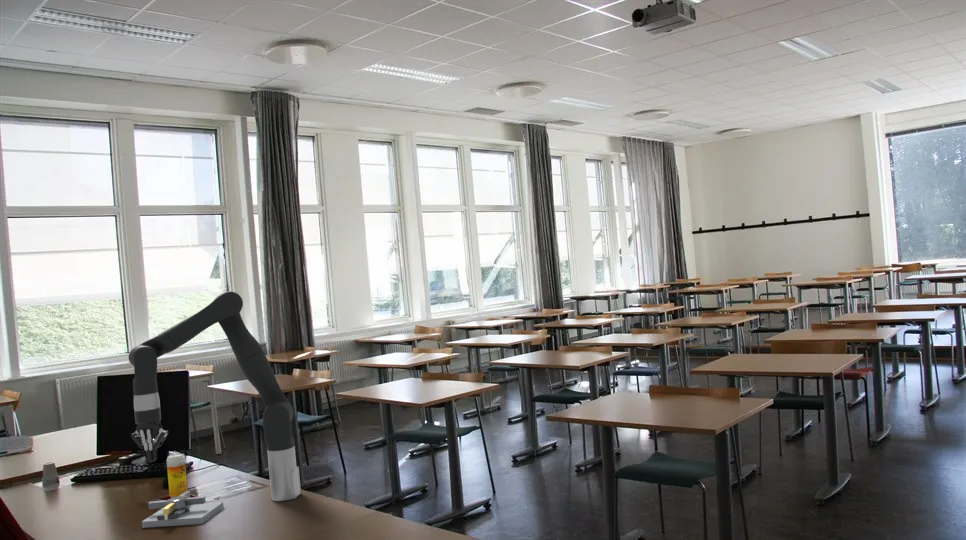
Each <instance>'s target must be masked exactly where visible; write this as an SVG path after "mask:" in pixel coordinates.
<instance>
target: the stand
mask: <svg viewBox="0 0 966 540" xmlns="http://www.w3.org/2000/svg"><path fill="white" fill-rule="evenodd" d="M224 508H225V507H224V501H215V502H214V501H213V502H205V503H204V504H197V505H189V511H187V512H185V513H184V514H182V515H179V516H178V513H170V514H169V515H163V509H164V508H160V509H159V510H157V512H155V513H153V514H152V515H150V516H148V517H147V518H145V519H144V520H142V521H141V526H142V528H143V529H144V528H145V529H146V528H157V527H158V528H160V527H174V526H175V527H176V526H187V525H189V526H191V525H202V524H204V523H206V522H207V521H208V520H209V519H211V518H212V517H213V516H215V515H216V514H218V513H219V512H220V511H221V510H222V509H224Z"/></svg>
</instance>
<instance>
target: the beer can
mask: <svg viewBox="0 0 966 540" xmlns="http://www.w3.org/2000/svg"><path fill="white" fill-rule="evenodd" d="M185 459H186V458H185V456H184V453H175V454H172V455H168V456H167V458H166V469H167V480H168V482H167V483H168V493H169V497H170V499H171V498H175V497H179V496H180V495H181V494H183V493H184V492H186V491H188V480H187V468H186V460H185Z"/></svg>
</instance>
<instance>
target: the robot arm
mask: <svg viewBox="0 0 966 540" xmlns="http://www.w3.org/2000/svg"><path fill="white" fill-rule="evenodd" d="M243 306H244V301H243V298H242V296H241V295H240V294H238V293H237V292H235V291H232V290H231V291H229V290H228V291H224V292H222V293H220V294H218V295H217V296H216V297H215V298H214V300H212V301H211V302H210V303H209V304H208V305H207V306H205V307H204V308H201V310H199V311H198V312H196V313H194V314H192V315H191V316H188V317H187V318H185V319H184V320H181V321H180V322H178V323H176V324H174V325H172V326H170V327H169V328H167V329H166V330H164V331H161V333H159V334H158V335H156V336H154V337H152V338H150V339H148V340H146V341H144V342H142V343H139V344H137V345H136V346H135V347H133V348H131V350H130V352H129V354H128V361H129V363H130V364H131V365H132V366H133V372H134V378H133V379H132V390H133V391H132V392H133V409H134V411H133V412H134V421H135V422H134V423H135V424H136V428H135V431H134V432H133V433H131V434H130V437H131V439H132V440H133V441H134V443H135V444H136V445H137V446H138V447H139V449H141V450H144V451H145V456H146V460H147V462H148V463H153V462H156V461H157V460H158V448H160V447H162V446H163V444H164V443H165V440H166V439H167V438H168V435H169V433H170V432H169V430H164V429H163V425H162V424H161V420H162V410H161V401H160V394H159V388H158V387H159V386H158V381H157V375H158V358H160V357H162V356H163V355H165V354H169V353H172V352H174V351H175V350H177V349H178V348H180V347H182V346H183V345H186V344H187V343H188V342H190V341H191V340H192V339H194V338H195V337H197V336H198V335H199V334H200V333H202V332H204V331H205V330H207V329H208V328H210V327H211V326H213V325H215V324H217V323H218V324H219V326H220V328H221V329H222V331H223V332H224V334H225V336H226V337H227V340H228V343H229V345H230V348H231V349H232V351H233V354H234V356H235V359H236V361H237V363H238V365H239V367H240V369H241V371H242V373H243V375H244V376H245V378H246V380H247V381H248V382H249V383H250V385H252V386H253V388H255V390H256V391H257V392H258V394H259V397H260V398H261V400H262V403H263V404H264V407H265V409H264V410H263V413H262V428H263V435H264V436H263V437H264V442H265V444H266V451H267V462H268V473H269V485H270V496H271V500H272V501H274V502H283V501H284V502H285V501H290V500H295V499H296V498H297V497H299V496H300V495H301V494H302V491H300V490H301V479H300V467H299V466H298V465H297V459H296V458H297V457H296V449H295V448H296V446H295V444H296V443H295V438H294V437H293V434H292V426H291V425H292V424H291V421H292V420H293V417H294V409H293V406H292V403H291V402H290V401H289V400H288V398H287V396H286V395H285V393H284V391H283V389H281V386H280V384H279V383H278V381H277V377H276V376H275V373H274V370H273V368H272V366H271V364H270V362H269V359H268V358H267V356H266V353H265V351H264V349H263V347H262V346H261V344H260V342H259V341H258V340H257V339H256V338H255V337H254V336H253V334H252V333H251V332H250V331H249V330H248V328H247V326H246V325H245V322H244V320H243V317H242V315H241V312H242V310H243ZM300 492H301V493H300Z"/></svg>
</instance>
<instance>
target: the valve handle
mask: <svg viewBox="0 0 966 540" xmlns="http://www.w3.org/2000/svg"><path fill="white" fill-rule="evenodd" d="M206 501H207V499H206V495H203V496H194V497H191V491H190V490H187V491H186V492H184V493H183V494H181V495H180V496H179V497H175V498H171V497H170V498H169V499H165V500H156V501H153V500H152V501H149V502H148V510H155V509H156V510H157V509H162V508H164V509H163V515H169V514H170V513H178V516H179V515H182V514H184V513H185V512H187V511H189V505H197V504H204V503H207V502H206Z"/></svg>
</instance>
